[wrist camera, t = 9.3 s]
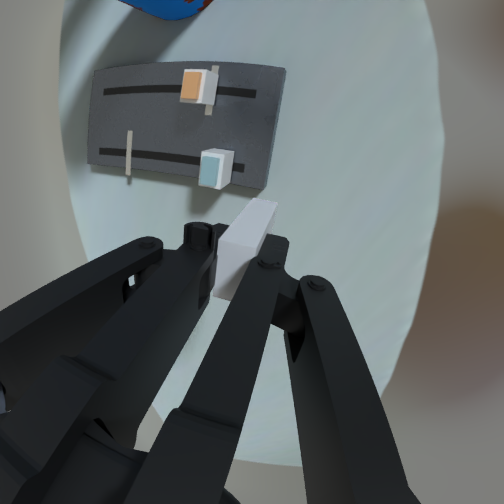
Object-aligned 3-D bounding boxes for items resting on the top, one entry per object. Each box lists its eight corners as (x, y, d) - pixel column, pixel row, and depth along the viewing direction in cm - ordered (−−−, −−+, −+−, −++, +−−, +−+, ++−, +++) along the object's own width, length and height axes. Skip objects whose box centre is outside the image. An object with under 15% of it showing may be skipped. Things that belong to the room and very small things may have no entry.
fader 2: (213, 148, 29) (198, 152, 25) (234, 151, 29) (222, 155, 25) (210, 178, 31) (195, 187, 27) (230, 182, 30) (217, 191, 26)
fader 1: (198, 74, 25) (181, 68, 22) (218, 75, 25) (204, 68, 21) (193, 103, 27) (176, 101, 23) (213, 105, 27) (198, 102, 23)
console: (103, 71, 28) (94, 70, 27) (286, 71, 25) (284, 67, 24) (96, 167, 35) (87, 170, 34) (264, 194, 32) (261, 198, 31)
